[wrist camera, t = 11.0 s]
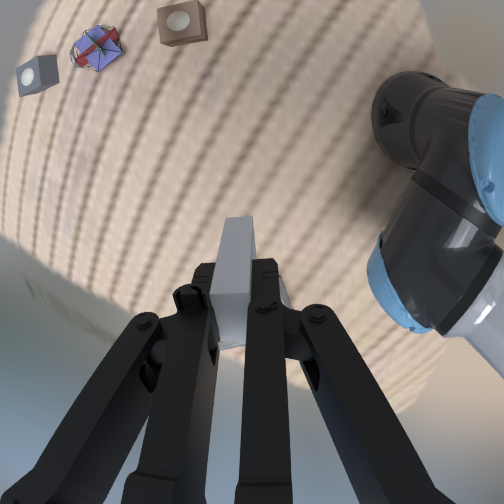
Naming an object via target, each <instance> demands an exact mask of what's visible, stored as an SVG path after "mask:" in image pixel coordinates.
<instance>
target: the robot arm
mask: <svg viewBox="0 0 504 504" xmlns="http://www.w3.org/2000/svg"><path fill="white" fill-rule="evenodd" d="M372 126H373V131H374V134H375V137H376V139H377V142H378V143H379V145H380V147H381V148H382V150H383V151H384V152H385V153H386V154H387V155H388V156H389V157H390V158H391V159H392V160H394V161H395V162H397V163H398V164H400V165H401V166H403V167H405V168H408V169H411V170H415V173H414V175H413V177H412V179H411V181H410V183H409V185H408V187H407V189H406V191H405V193H404V195H403V196H402V198H401V200H400V202H399V204H398V206H397V208H396V210H395V212H394V213H393V215H392V217H391V219H390V221H389V223H388V224H387V226H386V228H385V230H384V231H382V232H381V234H380V235H379V237H378V240H377V244H376V246H375V248H374V250H373V252H372V254H371V256H370V258H369V260H368V263H367V276H368V282H369V285H370V288H371V290H372V292H373V294H374V296H375V298H376V300H377V301H378V303H379V304H380V305H381V307H382V308H383V309H384V310H385V312H386V313H387V314H388V315H389V316H390V317H391V318H392V319H393V320H394V321H395V322H396V323H398V324H399V325H400V326H402V327H403V328H405V329H406V328H409V329H410V331H411V332H413V333H417V334H423V333H427V332H428V331H431V330H433V328H434V329H435V330H436V331H437V332H438V333H439V334H440V335H441V336H442V337H443V338H452V337H463V338H464V339H465V340H466V341H467V342H468V343H469V344H470V345H472V347H473V348H474V349H475V350H476V351H477V352H478V353H479V354H480V355H481V356H482V357H483V358H484V359H485V360H486V361H487V362H488V363H489V364H490V365H491V366H492V367H493V368H494V369H495V370H496V371H497V372H498V373H499V374H500V376H501V377H502V378H503V379H504V251H503V250H502V249H501V248H500V247H499V246H497V245H496V244H495V243H494V241H495V239H496V237H497V235H498V233H499V231H500V230H501V228H502V227H503V226H504V99H503V98H501V97H500V96H498V95H495V94H484V93H480V92H474V91H469V90H463V89H457V88H451V87H449V86H448V85H447V84H445V83H444V82H442V81H441V80H440V79H438V78H437V77H435V76H433V75H430V74H427V73H424V72H412V71H410V72H402V73H399V74H396V75H394V76H392V77H391V78H389V79H388V80H387V81H386V82H385V83H384V84H383V85H382V86H381V87H380V89H379V91H378V92H377V94H376V97H375V99H374V103H373V107H372ZM173 298H174V301H175V305H176V308H177V313H176V314H174V315H171V316H168V317H164V318H160V319H159V317H158V316H157V315H156V314H155V313H152V312H143V313H140V314H138V315H136V316H135V317H134V318H133V319H132V320H131V321H130V322H129V324H128V325H127V326H126V328H125V329H124V330H123V332H122V334H121V335H120V336H119V337H118V339H117V340H116V342H115V343H114V344H113V346H112V347H111V349H110V350H109V352H108V353H107V354H106V356H105V357H104V359H103V360H102V361H101V363H100V364H99V366H98V367H97V369H96V370H95V372H94V373H93V375H92V376H91V377H90V379H89V381H88V382H87V384H86V385H85V387H84V388H83V389H82V391H81V393H80V394H79V395H78V397H77V398H76V400H75V401H74V403H73V405H72V406H71V408H70V409H69V411H68V412H67V414H66V415H65V417H64V419H63V420H62V422H61V423H60V425H59V427H58V428H57V430H56V431H55V433H54V435H53V436H52V438H51V440H50V441H49V443H48V445H47V446H46V448H45V449H44V451H43V453H42V454H41V456H40V458H39V460H38V461H37V463H36V465H35V467H34V468H33V469H32V470H31V471H29V472H28V473H27V474H26V475H25V476H23V477H22V478H21V479H20V480H19V481H18V482H16V483H15V484H14V485H13V486H12V487H10V488H9V489H8V490H6V491H5V492H4V493H3V495H2V496H1V500H0V504H103V502H104V501H105V499H106V497H107V495H108V493H109V491H110V489H111V487H112V485H113V483H114V481H115V479H116V478H117V476H118V474H119V472H120V470H121V468H122V466H123V464H124V462H125V460H126V458H127V456H128V454H129V452H130V450H131V448H132V446H133V444H134V442H135V441H136V439H137V436H138V434H139V433H140V431H141V429H142V427H143V425H144V423H145V421H146V419H147V418H148V416H149V418H148V423H147V427H146V431H145V436H144V440H143V445H142V449H141V454H140V459H139V464H138V467H137V469H136V470H135V471H134V472H132V473H130V474H129V476H128V477H127V479H126V482H125V485H124V490H123V495H122V501H121V504H207V503H206V499H205V483H206V473H207V462H208V452H209V443H210V433H211V432H210V431H211V423H212V414H213V405H214V395H215V387H216V378H217V370H218V361H219V353H220V350H219V345H218V338H219V336H220V340H221V341H246V347H245V367H244V386H243V406H242V426H241V448H240V467H239V480H238V484H237V486H236V491H235V500H234V501H235V502H234V504H293V494H292V481H291V455H290V434H289V414H288V395H287V377H286V361H285V358H289V359H294V360H299V362H300V365H301V367H302V370H303V372H304V374H305V377H306V379H307V381H308V384H309V386H310V388H311V391H312V393H313V395H314V398H315V400H316V402H317V405H318V407H319V409H320V412H321V414H322V416H323V419H324V421H325V423H326V426H327V428H328V430H329V433H330V435H331V437H332V440H333V442H334V445H335V447H336V449H337V451H338V454H339V456H340V459H341V461H342V463H343V466H344V468H345V470H346V473H347V475H348V477H349V480H350V482H351V484H352V487H353V489H354V491H355V494H356V496H357V498H358V501H359V503H360V504H455V503H454V502H453V501H452V500H450V499H449V498H448V497H447V496H445V495H444V494H443V493H441V492H440V491H439V490H438V489H437V488H435V486H434V484H433V482H432V480H431V479H430V477H429V475H428V473H427V471H426V469H425V467H424V465H423V463H422V461H421V460H420V458H419V456H418V454H417V452H416V451H415V449H414V447H413V445H412V443H411V441H410V439H409V438H408V436H407V434H406V432H405V430H404V429H403V427H402V425H401V423H400V422H399V420H398V418H397V416H396V414H395V413H394V411H393V409H392V407H391V406H390V404H389V402H388V401H387V399H386V397H385V395H384V394H383V392H382V390H381V388H380V387H379V385H378V383H377V382H376V380H375V378H374V377H373V375H372V373H371V372H370V370H369V368H368V367H367V365H366V363H365V362H364V360H363V358H362V357H361V355H360V353H359V352H358V350H357V348H356V347H355V345H354V343H353V342H352V340H351V338H350V337H349V335H348V334H347V332H346V330H345V329H344V327H343V325H342V324H341V322H340V321H339V319H338V317H337V316H336V314H335V313H334V311H333V310H332V309H331V308H330V307H328V306H326V305H322V304H312V305H309V306H307V307H305V308H304V309H303V310H302V311H297V310H293V309H290V308H288V307H286V306H285V305H284V304H283V303H282V301H281V298H280V285H279V274H278V264H277V263H276V261H275V260H274V259H273V258H268V259H256V247H255V237H254V227H253V217H252V216H245V217H232V218H226V219H225V224H224V228H223V233H222V237H221V242H220V246H219V251H218V255H217V260H216V263H201V264H200V265H199V266H198V267H197V268H196V269H195V272H194V275H193V279H192V284H186V285H183V286H181V287H179V288H178V289H176V290H175V291H174V293H173Z"/></svg>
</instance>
